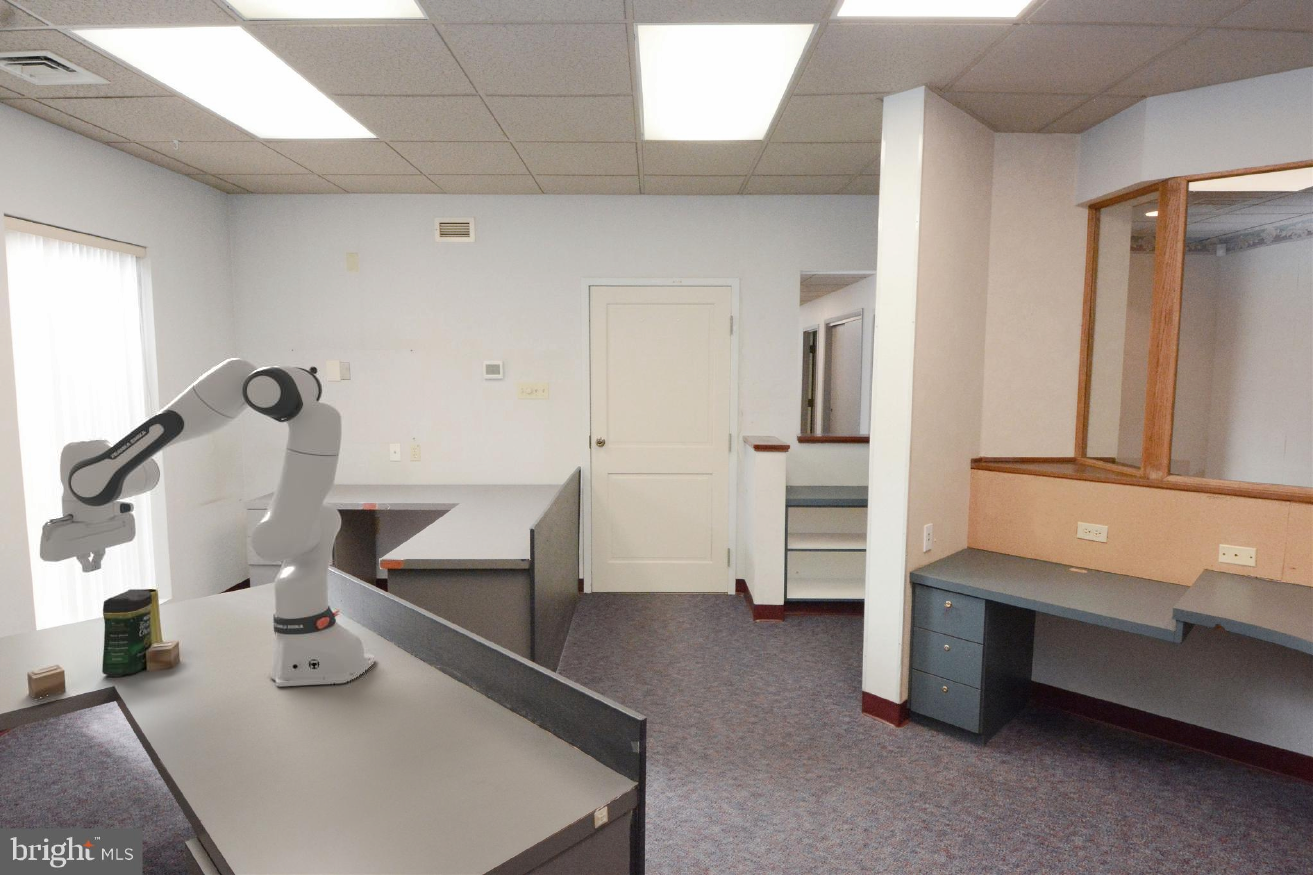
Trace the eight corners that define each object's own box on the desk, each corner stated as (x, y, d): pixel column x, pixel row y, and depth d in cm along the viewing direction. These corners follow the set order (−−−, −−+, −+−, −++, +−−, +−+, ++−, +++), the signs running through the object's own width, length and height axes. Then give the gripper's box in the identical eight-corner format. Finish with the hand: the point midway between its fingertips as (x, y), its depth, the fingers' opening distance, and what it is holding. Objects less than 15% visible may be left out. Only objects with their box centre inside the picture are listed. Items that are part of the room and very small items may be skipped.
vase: (169, 641, 173) (166, 588, 171) (148, 650, 166) (145, 595, 165) (147, 640, 173) (144, 587, 172) (127, 649, 167) (123, 594, 166)
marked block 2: (179, 660, 161) (178, 639, 160) (172, 668, 156) (170, 647, 156) (155, 663, 159) (154, 642, 159) (147, 671, 155) (145, 650, 154)
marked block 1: (65, 691, 144) (64, 669, 144) (35, 700, 140) (33, 677, 140) (59, 685, 147) (57, 663, 147) (28, 694, 143) (27, 671, 143)
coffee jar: (134, 676, 151) (133, 597, 150) (95, 678, 150) (94, 598, 149) (158, 660, 161) (158, 586, 160) (122, 661, 159) (122, 586, 158)
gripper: (56, 520, 137) (60, 585, 138) (139, 503, 157) (142, 559, 158) (28, 519, 137) (32, 584, 138) (115, 502, 158) (117, 558, 159)
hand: (91, 570), depth 149 cm, fingers closed
